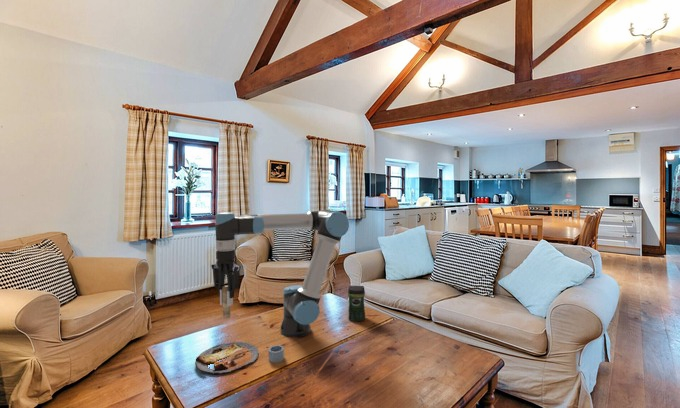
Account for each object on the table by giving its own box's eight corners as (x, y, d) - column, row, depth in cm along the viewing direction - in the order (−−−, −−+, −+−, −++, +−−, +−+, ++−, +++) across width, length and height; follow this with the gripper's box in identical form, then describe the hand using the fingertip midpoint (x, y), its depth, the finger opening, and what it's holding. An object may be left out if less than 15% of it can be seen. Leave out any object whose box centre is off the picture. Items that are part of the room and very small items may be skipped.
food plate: (210, 384, 116) (210, 375, 116) (186, 361, 132) (186, 353, 132) (268, 360, 134) (268, 351, 134) (240, 342, 150) (240, 335, 150)
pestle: (226, 315, 134) (225, 285, 134) (231, 316, 133) (231, 285, 133) (221, 317, 131) (220, 287, 131) (227, 318, 130) (226, 287, 130)
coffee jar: (365, 316, 178) (365, 284, 177) (365, 322, 170) (365, 288, 169) (348, 315, 179) (348, 283, 178) (347, 321, 171) (347, 287, 170)
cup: (273, 355, 136) (273, 344, 136) (286, 357, 134) (286, 346, 134) (265, 362, 130) (265, 351, 130) (278, 365, 128) (278, 353, 128)
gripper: (203, 250, 130) (204, 305, 131) (235, 252, 125) (236, 310, 126) (216, 246, 137) (217, 299, 138) (247, 249, 132) (248, 304, 133)
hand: (226, 304), depth 132 cm, fingers closed on pestle, 3 cm apart
